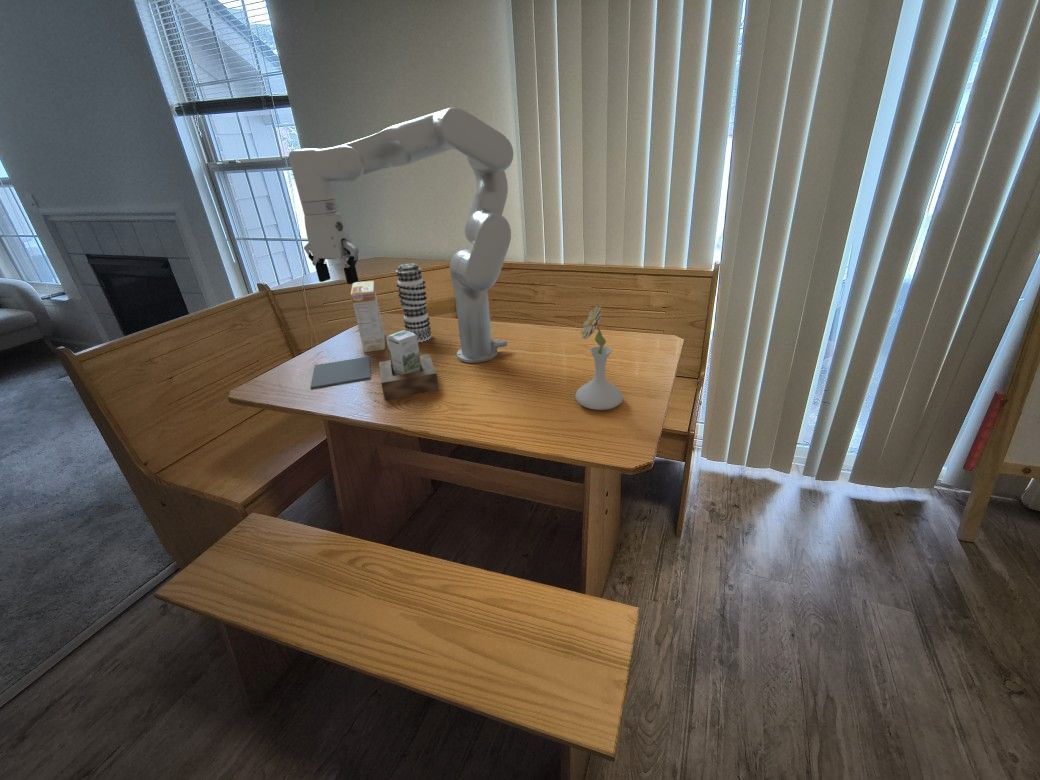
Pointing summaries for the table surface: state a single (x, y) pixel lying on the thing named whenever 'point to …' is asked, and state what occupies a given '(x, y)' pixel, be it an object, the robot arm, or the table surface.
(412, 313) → the black and white tower
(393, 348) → the syrup box
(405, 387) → the walnut pocket holder
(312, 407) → the table surface
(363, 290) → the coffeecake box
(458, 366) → the table surface
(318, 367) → the charcoal mat
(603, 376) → the flower in vase
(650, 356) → the table surface
